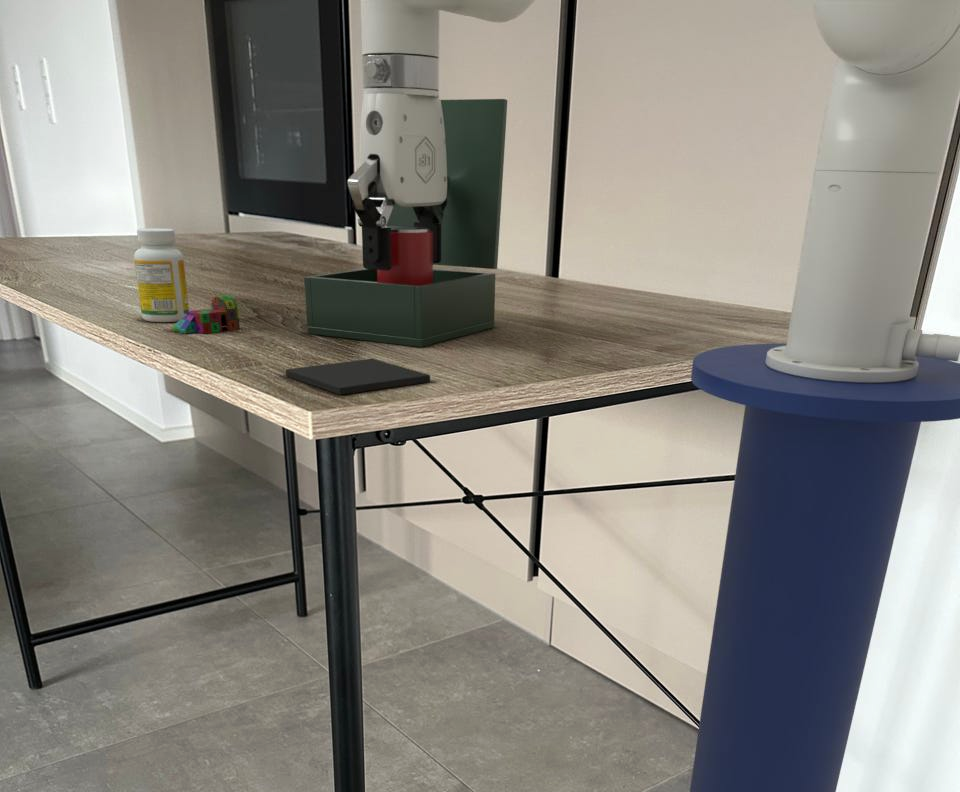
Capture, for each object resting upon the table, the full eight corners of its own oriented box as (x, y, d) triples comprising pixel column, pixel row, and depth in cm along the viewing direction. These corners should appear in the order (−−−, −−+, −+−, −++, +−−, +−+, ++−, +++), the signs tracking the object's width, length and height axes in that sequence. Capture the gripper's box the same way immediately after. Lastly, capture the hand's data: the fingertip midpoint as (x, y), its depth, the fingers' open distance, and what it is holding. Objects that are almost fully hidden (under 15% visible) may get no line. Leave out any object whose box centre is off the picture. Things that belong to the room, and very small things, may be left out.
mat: (430, 382, 81) (430, 374, 80) (340, 395, 75) (339, 387, 75) (372, 365, 87) (372, 358, 86) (285, 376, 82) (285, 369, 81)
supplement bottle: (162, 324, 106) (150, 231, 101) (132, 319, 108) (119, 229, 104) (200, 318, 110) (190, 229, 105) (170, 314, 112) (159, 227, 108)
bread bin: (421, 347, 95) (420, 286, 93) (307, 333, 102) (303, 276, 99) (494, 327, 108) (495, 273, 105) (388, 316, 114) (387, 265, 111)
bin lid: (504, 98, 98) (523, 105, 102) (388, 100, 104) (410, 106, 108) (494, 269, 104) (512, 269, 108) (385, 261, 111) (406, 261, 114)
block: (218, 324, 106) (215, 292, 104) (239, 329, 104) (236, 296, 102) (171, 330, 102) (167, 297, 100) (192, 335, 100) (188, 301, 98)
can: (443, 324, 104) (443, 227, 100) (414, 331, 99) (412, 230, 95) (398, 319, 107) (396, 225, 102) (367, 326, 102) (364, 227, 97)
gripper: (382, 72, 84) (386, 275, 92) (477, 85, 98) (473, 262, 105) (316, 73, 87) (325, 269, 95) (416, 86, 101) (417, 257, 109)
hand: (403, 265), depth 100 cm, fingers open, 9 cm apart
